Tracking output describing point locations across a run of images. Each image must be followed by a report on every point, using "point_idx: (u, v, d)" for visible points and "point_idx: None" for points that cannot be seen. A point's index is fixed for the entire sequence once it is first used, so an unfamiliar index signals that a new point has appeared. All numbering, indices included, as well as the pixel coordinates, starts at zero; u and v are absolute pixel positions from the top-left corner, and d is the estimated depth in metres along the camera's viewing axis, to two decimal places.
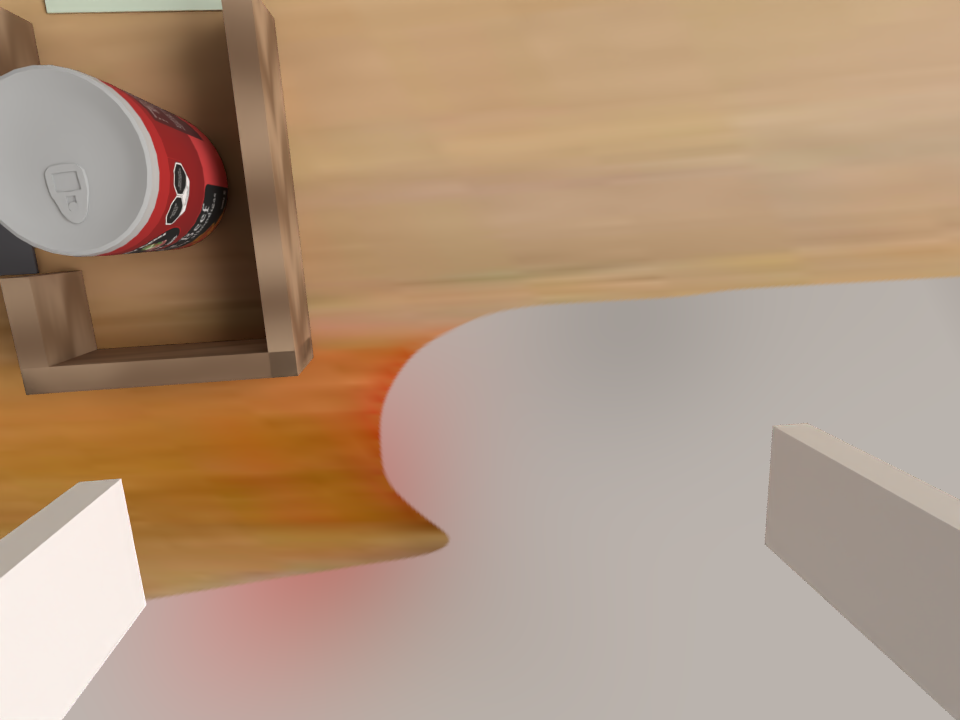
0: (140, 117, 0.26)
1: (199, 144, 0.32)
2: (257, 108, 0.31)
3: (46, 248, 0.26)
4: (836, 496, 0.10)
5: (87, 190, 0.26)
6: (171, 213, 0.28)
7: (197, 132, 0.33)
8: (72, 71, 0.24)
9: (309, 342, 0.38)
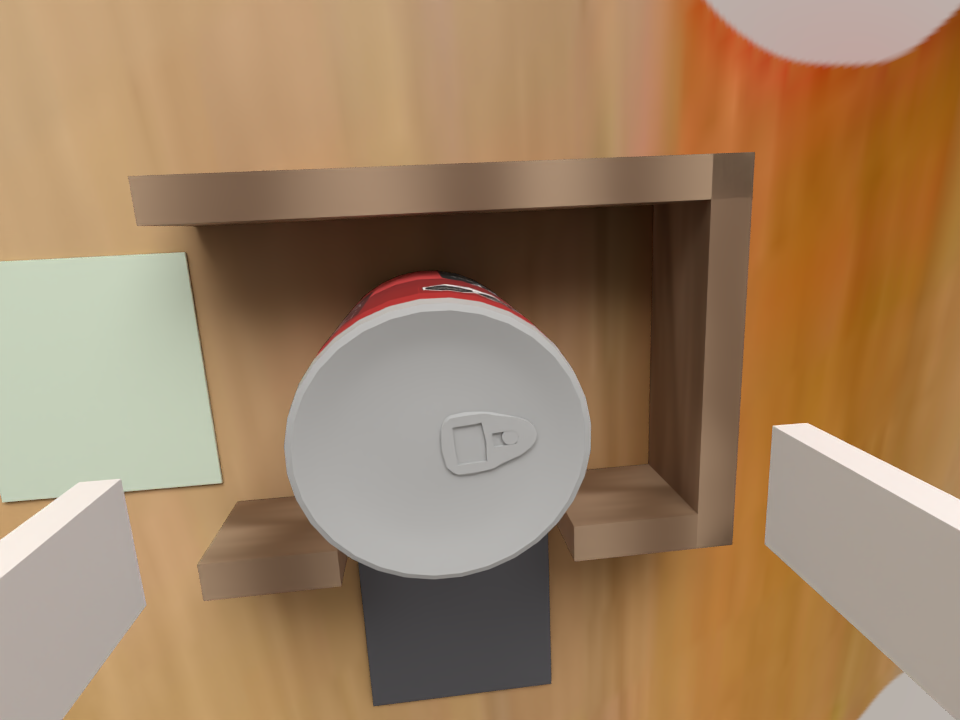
0: (358, 320, 0.15)
1: (381, 288, 0.21)
2: (322, 181, 0.19)
3: (578, 482, 0.15)
4: (836, 496, 0.10)
5: (482, 414, 0.15)
6: (505, 305, 0.17)
7: (362, 298, 0.22)
8: (291, 415, 0.14)
9: None
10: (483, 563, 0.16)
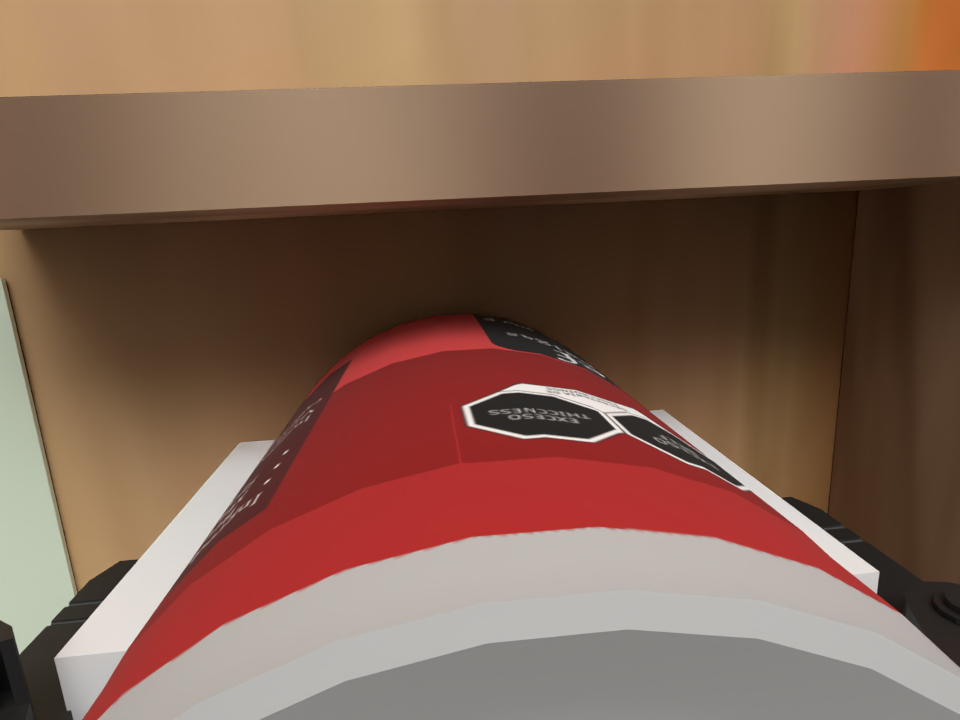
0: (221, 621, 0.04)
1: (364, 363, 0.10)
2: (215, 122, 0.08)
3: None
4: None
5: None
6: (704, 462, 0.06)
7: (329, 374, 0.11)
8: None
9: None
10: None
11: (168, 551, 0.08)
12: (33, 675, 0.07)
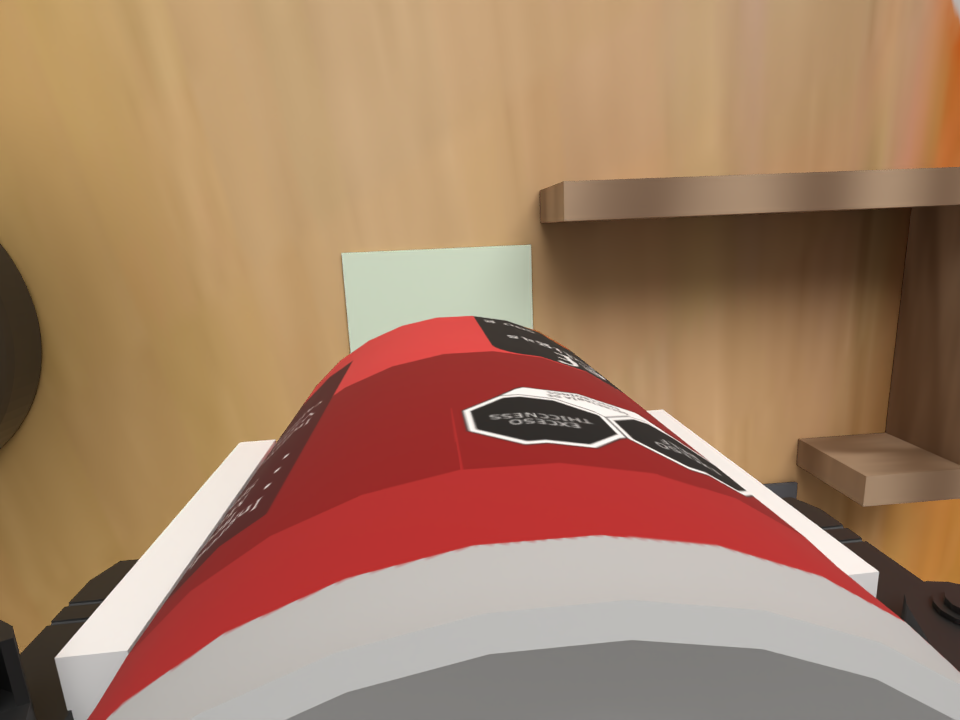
0: (221, 630, 0.04)
1: (364, 365, 0.10)
2: (708, 186, 0.23)
3: None
4: None
5: None
6: (706, 467, 0.06)
7: (329, 376, 0.11)
8: None
9: None
10: None
11: (168, 551, 0.08)
12: (34, 674, 0.07)
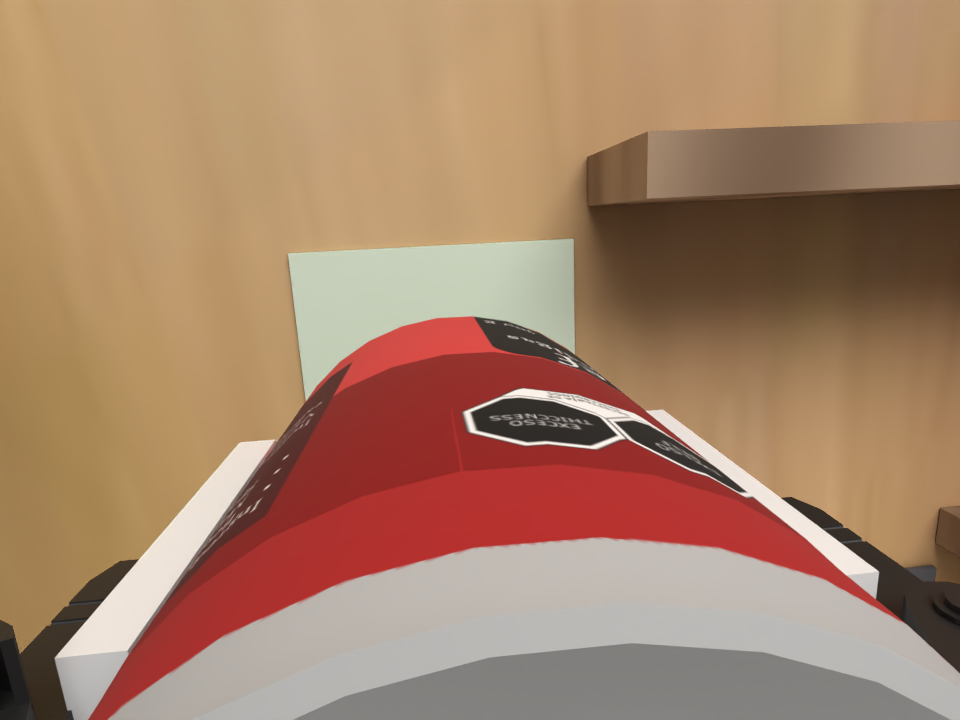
0: (220, 632, 0.04)
1: (364, 366, 0.10)
2: (883, 140, 0.14)
3: None
4: None
5: None
6: (706, 468, 0.06)
7: (329, 377, 0.11)
8: None
9: None
10: None
11: (168, 551, 0.08)
12: (34, 674, 0.07)
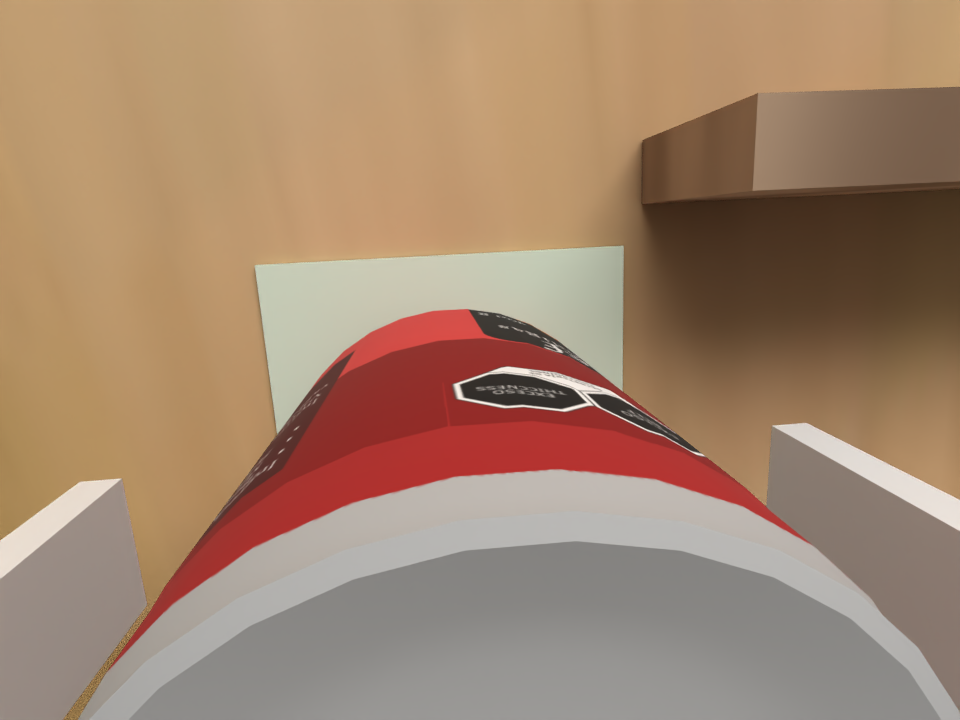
0: (251, 545, 0.04)
1: (366, 352, 0.11)
2: None
3: None
4: (835, 496, 0.10)
5: None
6: (665, 432, 0.07)
7: (333, 364, 0.12)
8: None
9: None
10: None
11: None
12: None
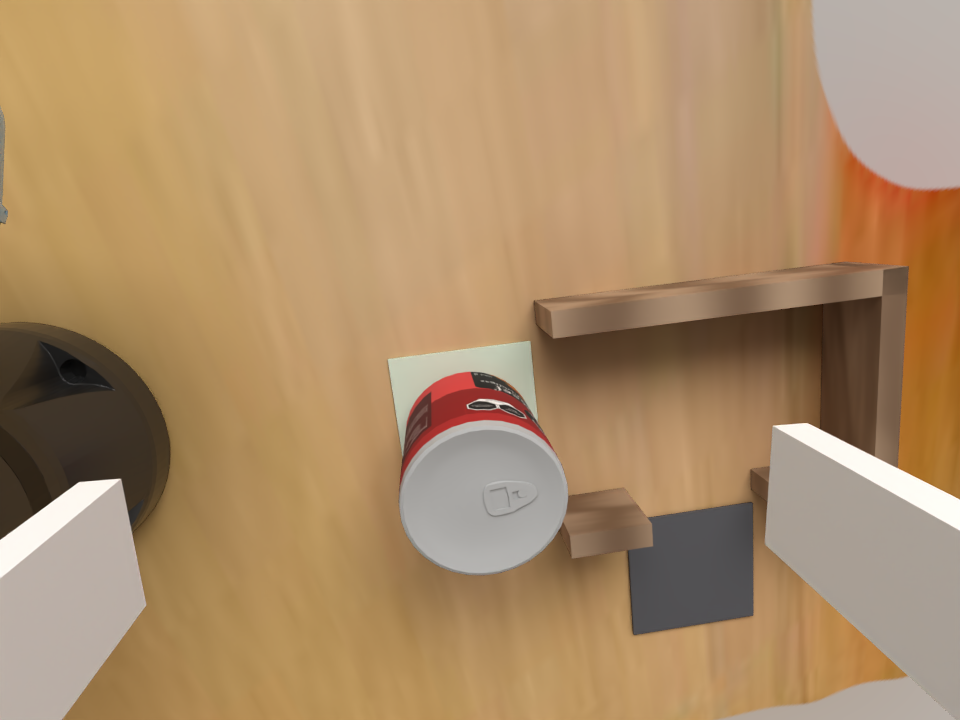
0: (435, 435, 0.27)
1: (437, 393, 0.33)
2: (656, 305, 0.32)
3: (562, 516, 0.27)
4: (836, 496, 0.10)
5: (506, 482, 0.27)
6: (516, 413, 0.29)
7: (423, 396, 0.34)
8: (403, 490, 0.26)
9: (836, 264, 0.37)
10: (511, 564, 0.28)
11: None
12: None
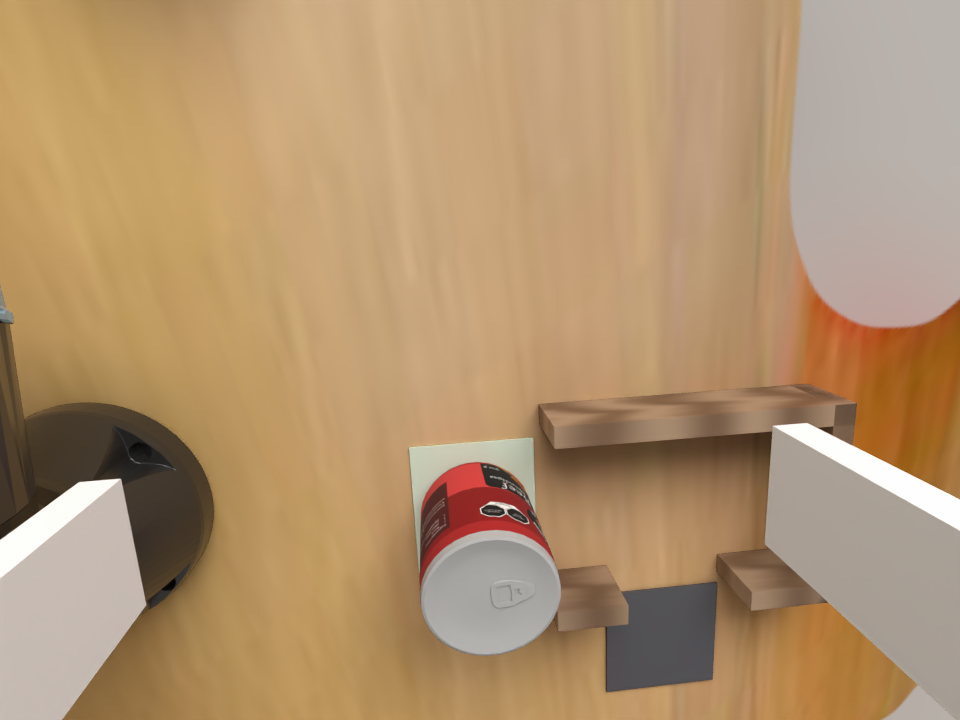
0: (454, 540, 0.32)
1: (452, 487, 0.38)
2: (643, 425, 0.38)
3: (555, 611, 0.33)
4: (836, 496, 0.10)
5: (510, 580, 0.33)
6: (520, 518, 0.34)
7: (439, 485, 0.40)
8: (425, 584, 0.32)
9: (799, 387, 0.43)
10: (510, 648, 0.33)
11: None
12: None
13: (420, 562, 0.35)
